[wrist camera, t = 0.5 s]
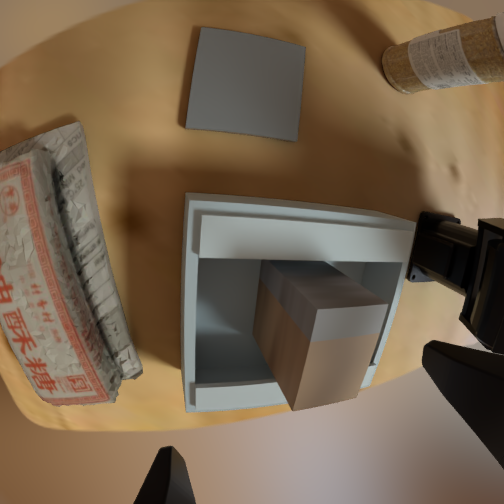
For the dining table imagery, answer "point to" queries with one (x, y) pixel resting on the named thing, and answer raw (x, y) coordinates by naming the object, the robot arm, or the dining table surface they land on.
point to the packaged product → (60, 274)
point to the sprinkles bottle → (448, 57)
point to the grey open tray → (247, 278)
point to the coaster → (246, 85)
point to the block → (315, 330)
